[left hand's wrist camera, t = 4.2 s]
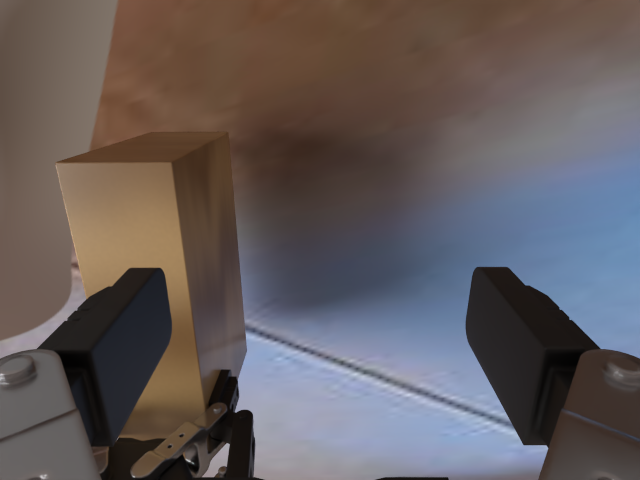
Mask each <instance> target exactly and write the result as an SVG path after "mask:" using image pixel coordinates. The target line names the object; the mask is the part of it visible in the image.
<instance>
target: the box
mask: <svg viewBox="0 0 640 480" xmlns="http://www.w3.org/2000/svg"><path fill="white" fill-rule="evenodd" d="M55 165H56V169H57V174H58V178H59V182H60V187H61V191H62V195H63V200H64V204H65V208H66V213H67V217H68V221H69V225H70V229H71V234H72V238H73V243H74V247H75V251H76V256H77V260H78V264H79V269H80V273H81V277H82V282H83V286H84V290H85V295H86V299H88V298H89V297H90V296H91V295H93V294H95V293H97V292H99V291H100V290H102V289H104V288H106V287H108V286H113V285H114V283H115V282H116V281H117V280H118V279H119V278H120V277H121V276H122V275H123V274H124V273H125V272H126V271H127V270H128V269H129V268H161V269H162V270H163V271H164V274H165V278H166V285H167V291H168V298H169V305H170V312H171V318H172V334H171V339H170V342H169V345H168V347H167V349H166V351H165V352H164V354H163V356H162V358H161V360H160V362H159V363H158V365H157V367H156V369H155V371H154V373H153V374H152V376H151V378H150V380H149V382H148V384H147V385H146V387H145V389H144V391H143V393H142V394H141V396H140V398H139V400H138V402H137V404H136V405H135V407H134V409H133V411H132V413H131V415H130V416H129V418H128V420H127V422H126V424H125V426H124V427H123V429H122V431H121V433H120V435H119V438H134V439H138V440H141V441H145V440H151V439H156V438H166V439H167V438H168V437H169V436H170V435H171V434H172V433H173V432H174V431H176V430H177V429H178V428H179V427H180V426H181V425H182V424H183V423H184V422H186V421H190V422H193V421H195V420H196V419H197V418H198V417H199V416H200V415H201V414H202V413H203V412H204V411H205V410H206V409H208V408H209V403H208V402H209V399H210V397H211V394H212V391H213V389H214V386H215V384H216V381H217V379H218V376H219V373H220V371H221V369H231V372H232V376H236V377H237V380H238V377H239V374H240V371H241V368H242V365H243V362H244V358H245V355H246V352H247V346H246V334H245V323H244V311H243V299H242V287H241V275H240V264H239V252H238V240H237V228H236V216H235V205H234V193H233V181H232V169H231V157H230V146H229V134H228V132H150V133H147V134H144V135H141V136H138V137H134V138H131V139H128V140H125V141H122V142H119V143H115V144H112V145H109V146H106V147H103V148H100V149H96V150H93V151H90V152H87V153H84V154H81V155H77V156H74V157H71V158H68V159H65V160H62V161H58V162H56V163H55ZM183 456H184V458H185V452H184V453H183ZM211 460H212V459H211Z"/></svg>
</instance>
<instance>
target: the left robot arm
mask: <svg viewBox="0 0 640 480" xmlns="http://www.w3.org/2000/svg"><path fill="white" fill-rule="evenodd" d="M171 334H172V318H171V312H170V305H169V298H168V291H167V285H166V278H165V274H164V271H163V270H162V269H161V268H129V269H128V270H127V271H126V272H125V273H124V274H123V275H122V276H121V277H120V278H119V279H118V280H117V281H116V282H115V283H114V285H113V286H108V287H106V288H104V289H102V290H100V291H99V292H97V293H95V294H93V295H91V296H90V297H89V298H88V299H87V300H86V301H85V302H84V303H83V304H82V305H81V306H79V307H78V310H77V311H74V312H73V313H72V314H71V315H70V316H69V317H68V320H67V321H64V322H63V323H62V324H61V325H60V326H59V327H58V328H57V329H56V330H55V331H54V332H53V333H52V334H51V335H50V336H49V337H48V338H47V339H46V340H45V341H44V342H43V343H42V344H41V345H40V346H39V347H38V348H37V349H34V350H26V351H21V352H18V353H14V354H11V355H8V356H5V357H3V358H1V359H0V480H102V479H101V476H100V473H99V470H98V467H97V464H96V461H95V458H94V455H93V452H92V449H91V447H113V446H114V444H115V442H116V440H117V438H118V437H119V435H120V433H121V431H122V429H123V427H124V426H125V424H126V422H127V420H128V418H129V416H130V415H131V413H132V411H133V409H134V407H135V405H136V404H137V402H138V400H139V398H140V396H141V394H142V393H143V391H144V389H145V387H146V385H147V384H148V382H149V380H150V378H151V376H152V374H153V373H154V371H155V369H156V367H157V365H158V363H159V362H160V360H161V358H162V356H163V354H164V352H165V351H166V349H167V347H168V345H169V342H170V339H171ZM466 335H467V339H468V342H469V345H470V347H471V348H472V350H473V352H474V354H475V356H476V358H477V360H478V361H479V363H480V365H481V367H482V369H483V371H484V373H485V374H486V376H487V378H488V380H489V382H490V384H491V386H492V387H493V389H494V391H495V393H496V395H497V397H498V399H499V400H500V402H501V404H502V406H503V408H504V410H505V411H506V413H507V415H508V417H509V419H510V421H511V423H512V424H513V426H514V428H515V430H516V432H517V434H518V436H519V437H520V439H521V441H522V443H523V445H547V447H548V448H549V449H548V452H547V455H546V458H545V461H544V464H543V467H542V470H541V473H540V476H539V479H538V480H640V359H639V358H637V357H635V356H632V355H629V354H626V353H622V352H619V351H614V350H606V349H600V348H599V347H598V346H597V345H596V344H595V343H594V342H593V341H592V340H591V339H590V338H589V337H588V336H587V335H586V334H585V333H584V332H583V331H582V330H581V329H580V328H579V327H578V326H577V325H576V324H575V323H574V322H573V321H572V320H569V317H568V316H567V315H566V314H565V313H564V312H563V311H562V310H559V307H558V306H557V305H556V304H555V303H554V302H553V301H552V300H551V299H550V298H549V297H548V296H547V295H545V294H544V293H542V292H540V291H538V290H536V289H534V288H533V287H531V286H525V285H524V284H523V283H522V282H521V280H520V279H519V278H518V277H517V276H516V275H515V274H514V273H513V272H512V271H511V270H510V269H509V268H508V267H477V268H475V270H474V272H473V276H472V282H471V289H470V295H469V302H468V309H467V316H466ZM191 480H263V479H259V478H255V477H192V479H191ZM377 480H449V479H448V477H385V478H381V479H377Z"/></svg>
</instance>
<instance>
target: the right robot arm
mask: <svg viewBox="0 0 640 480" xmlns="http://www.w3.org/2000/svg"><path fill="white" fill-rule="evenodd" d="M238 399H239V390H238V380H237V377H236V376H232V372H231V369H221V371H220V373H219V376H218V379H217V381H216V384H215V386H214V389H213V391H212V394H211V397H210V399H209V402H208V403H209V408H208V409H206V410H205V411H204V412H203V413H202V414H201V415H200V416H199V417H198V418H197V419H196V420H195V421H193V422H190V421H186V422H184V423H183V424H182V425H181V426H180V427H179V428H178V429H177V430H176V431H174V432H173V433H172V434H171V435H170V436H169V437H168V438H167V439H166V438H156V439H151V440H145V441H141V440H138V439H134V438H118V440H116V442H115V444H114V446H113V447H91V449H92V452H93V455H94V458H95V461H96V464H97V467H98V470H99V473H100V476H101V479H102V480H191V479H192V477H202V476H203V475H204V474H205V472H206V471H207V470H208V467H209V464H210V461H211V459H212V458H213V457H214V456H215V455H216V454H217V453H218V452H219V451H220V449H221V448H222V447H223V446H224V445H225V444H226V443H229V444H230V448H229V455H228V463H227V467H225V466H223V467H220V468H219V470H218V474H216V476H215V477H253V474H254V458H255V438H254V432H253V414H252V412H251V411H249V410H241V411H238V412H237V413H235V409H236V406H237V402H238ZM184 452H185V458H184V456H183V453H184Z"/></svg>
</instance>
